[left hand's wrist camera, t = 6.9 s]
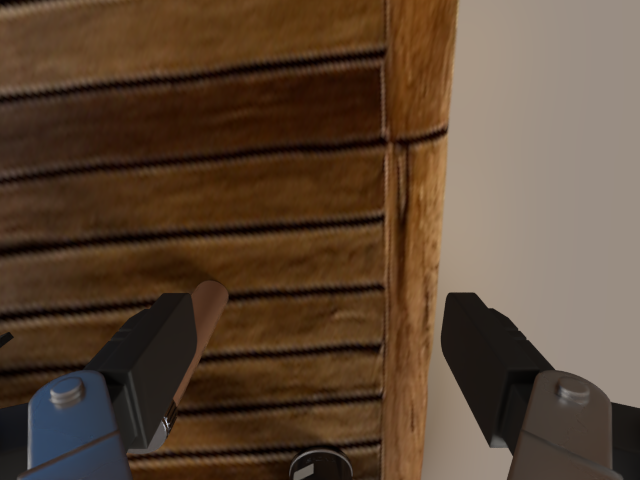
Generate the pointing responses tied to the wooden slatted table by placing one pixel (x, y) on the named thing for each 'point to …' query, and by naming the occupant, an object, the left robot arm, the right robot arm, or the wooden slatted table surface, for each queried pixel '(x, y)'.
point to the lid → (160, 430)
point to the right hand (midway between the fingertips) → (45, 389)
